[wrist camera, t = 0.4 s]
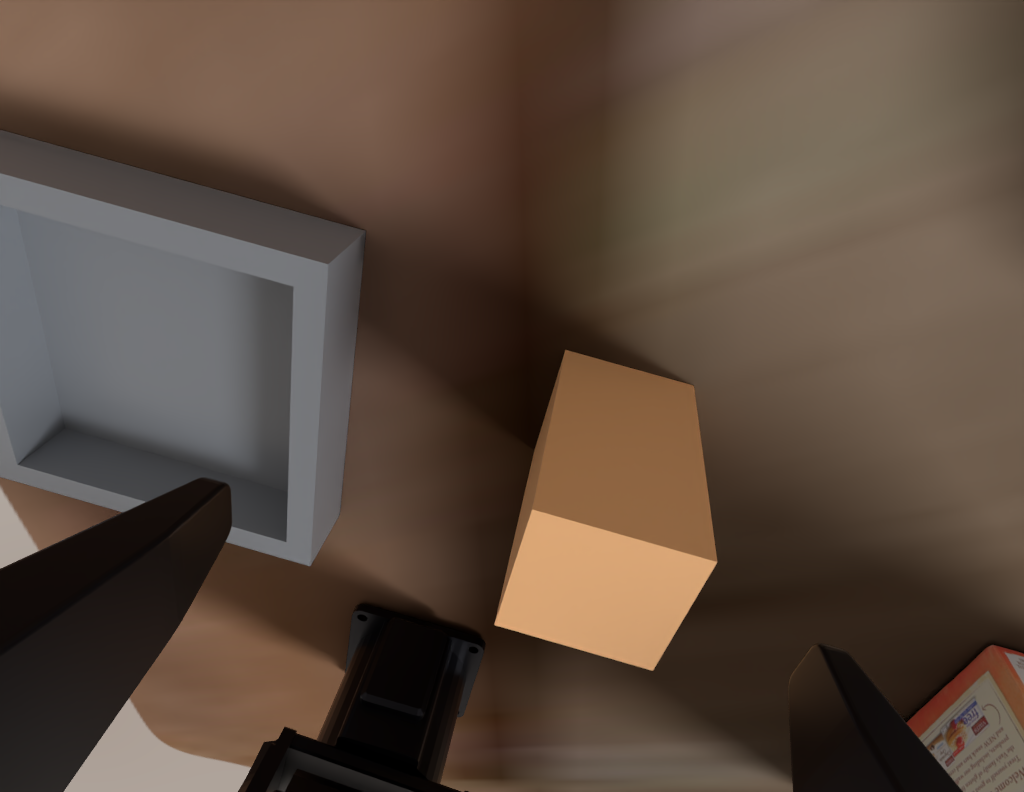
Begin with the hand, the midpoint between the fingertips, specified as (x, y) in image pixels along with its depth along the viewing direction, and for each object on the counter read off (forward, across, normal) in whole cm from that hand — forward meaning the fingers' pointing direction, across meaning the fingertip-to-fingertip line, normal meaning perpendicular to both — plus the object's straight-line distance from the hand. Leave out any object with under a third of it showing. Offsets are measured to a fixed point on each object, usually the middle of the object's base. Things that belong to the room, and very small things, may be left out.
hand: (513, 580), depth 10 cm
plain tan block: (+13, -2, +5) cm, 14 cm away
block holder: (+13, +14, +6) cm, 20 cm away
